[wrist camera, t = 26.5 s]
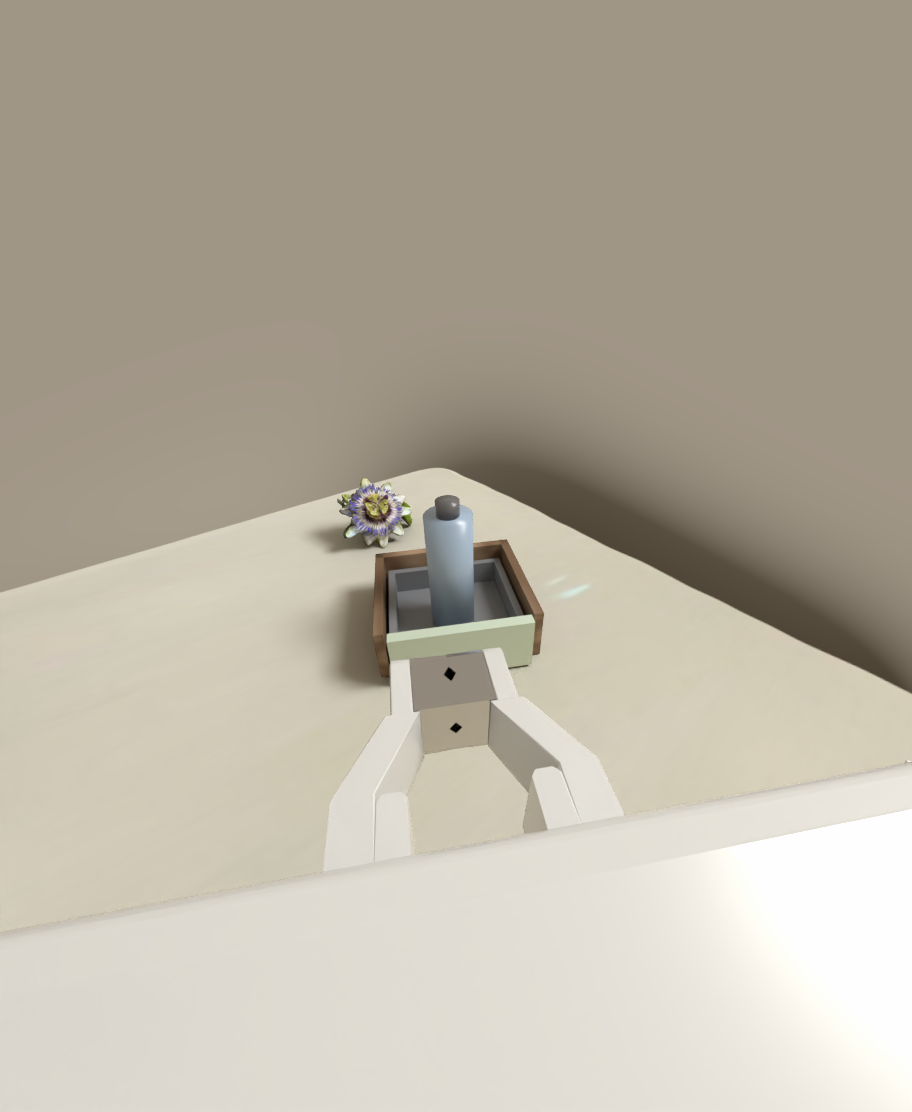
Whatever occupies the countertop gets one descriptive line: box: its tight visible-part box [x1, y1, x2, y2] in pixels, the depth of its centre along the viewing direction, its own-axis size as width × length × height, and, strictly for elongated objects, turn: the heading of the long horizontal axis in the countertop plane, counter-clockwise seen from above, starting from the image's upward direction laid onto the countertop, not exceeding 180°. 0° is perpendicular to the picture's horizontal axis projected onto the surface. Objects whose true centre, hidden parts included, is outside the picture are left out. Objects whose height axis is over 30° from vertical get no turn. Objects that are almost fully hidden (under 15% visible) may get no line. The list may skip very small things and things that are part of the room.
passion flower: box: [337, 478, 412, 548], centre depth 66 cm, size 11×11×12 cm
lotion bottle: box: [423, 495, 474, 627], centre depth 43 cm, size 5×5×16 cm
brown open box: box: [373, 539, 544, 677], centre depth 48 cm, size 17×15×6 cm
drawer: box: [387, 558, 535, 667], centre depth 46 cm, size 15×15×6 cm
